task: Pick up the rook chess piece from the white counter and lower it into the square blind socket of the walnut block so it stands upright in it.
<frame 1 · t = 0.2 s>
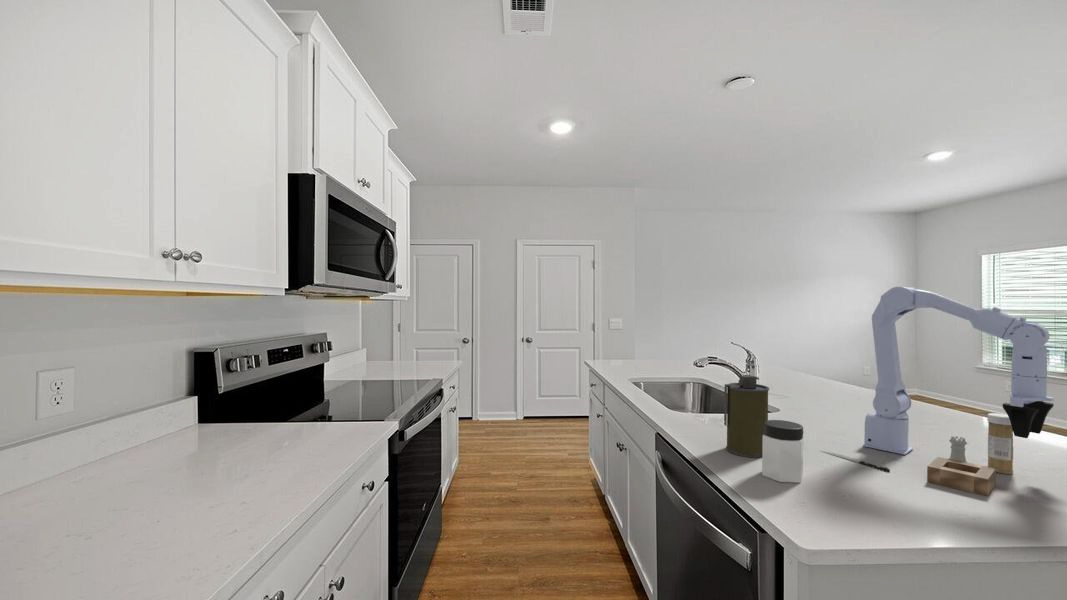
hand: (1027, 434, 111), 10 cm above the countertop, tool pointing down, fingers open, 7 cm apart
chef's knife: (851, 461, 123), on the countertop
sprinkles bottle: (999, 471, 115), on the countertop
rook chess piece: (957, 472, 115), on the countertop
bore block: (961, 482, 108), on the countertop
jar: (782, 477, 111), on the countertop
canister: (746, 452, 129), on the countertop
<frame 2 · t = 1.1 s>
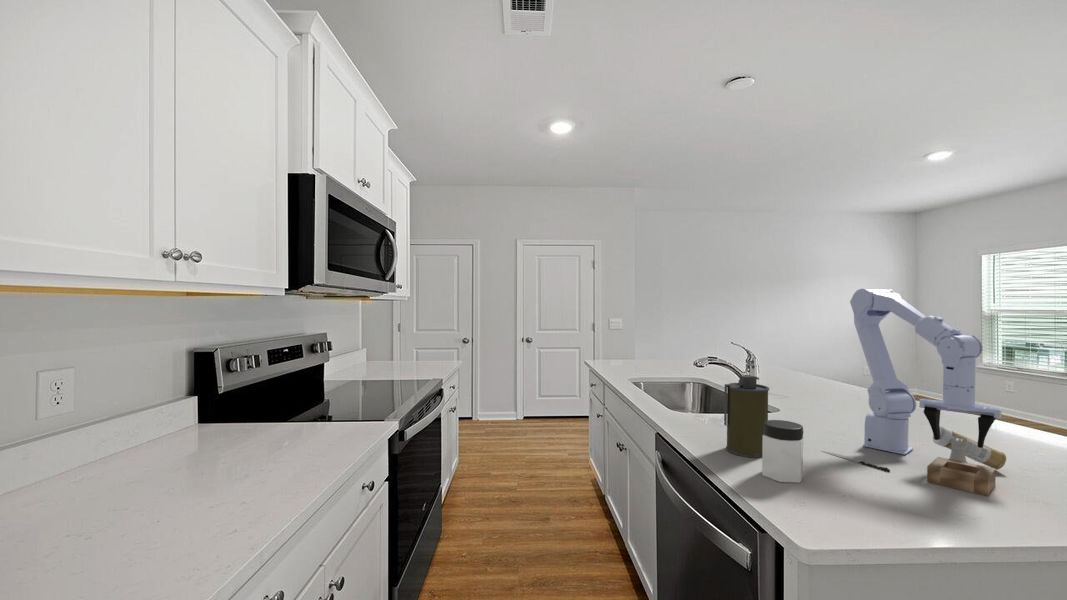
hand: (958, 442, 115), 7 cm above the countertop, tool pointing down, fingers open, 7 cm apart
sprinkles bottle: (1000, 462, 116), point 2 cm above the countertop, touching gripper
everything else where it was.
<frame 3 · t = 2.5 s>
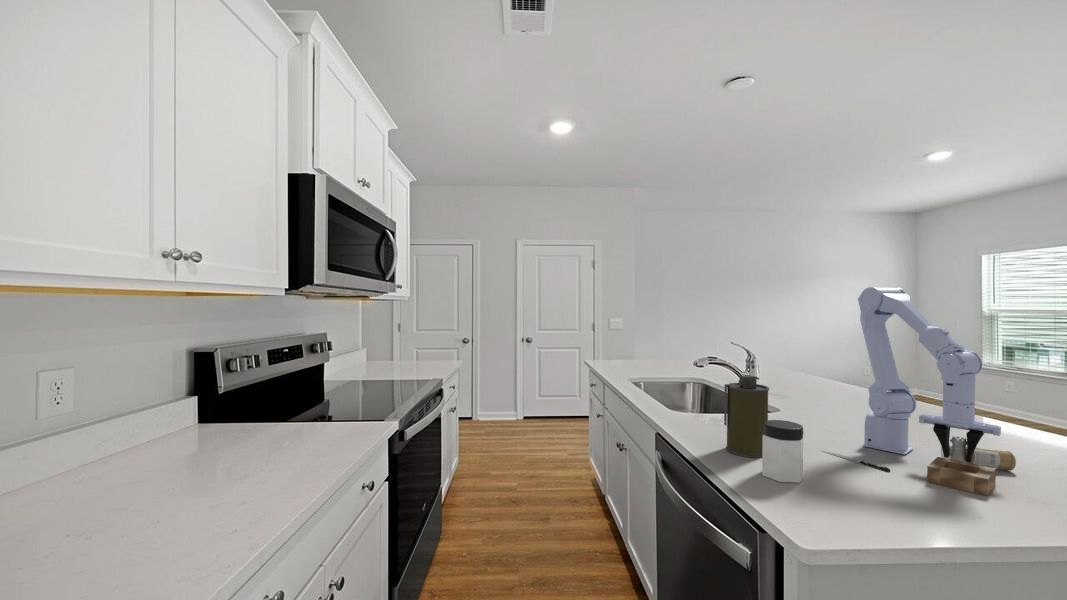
hand: (957, 459, 115), 3 cm above the countertop, tool pointing down, fingers open, 3 cm apart
sprinkles bottle: (1011, 461, 116), point 2 cm above the countertop, touching gripper, rook chess piece
rook chess piece: (958, 472, 115), on the countertop, touching gripper, sprinkles bottle
everything else where it was.
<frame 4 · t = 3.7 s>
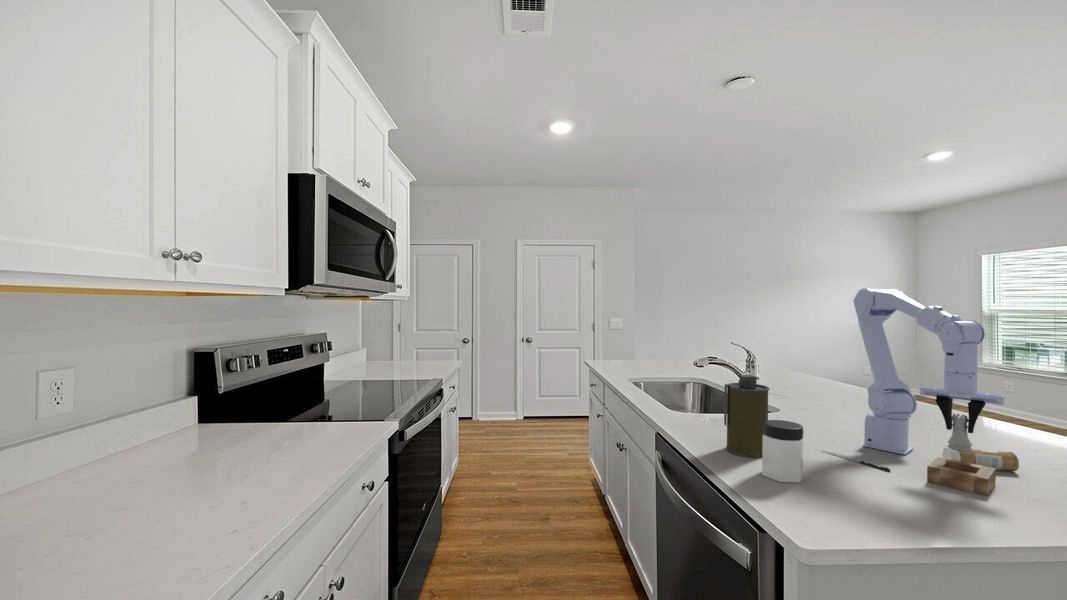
hand: (959, 430, 113), 10 cm above the countertop, tool pointing down, fingers closed on rook chess piece, 3 cm apart
sprinkles bottle: (1014, 462, 115), point 2 cm above the countertop
rook chess piece: (959, 450, 113), point 6 cm above the countertop, touching gripper
everything else where it was.
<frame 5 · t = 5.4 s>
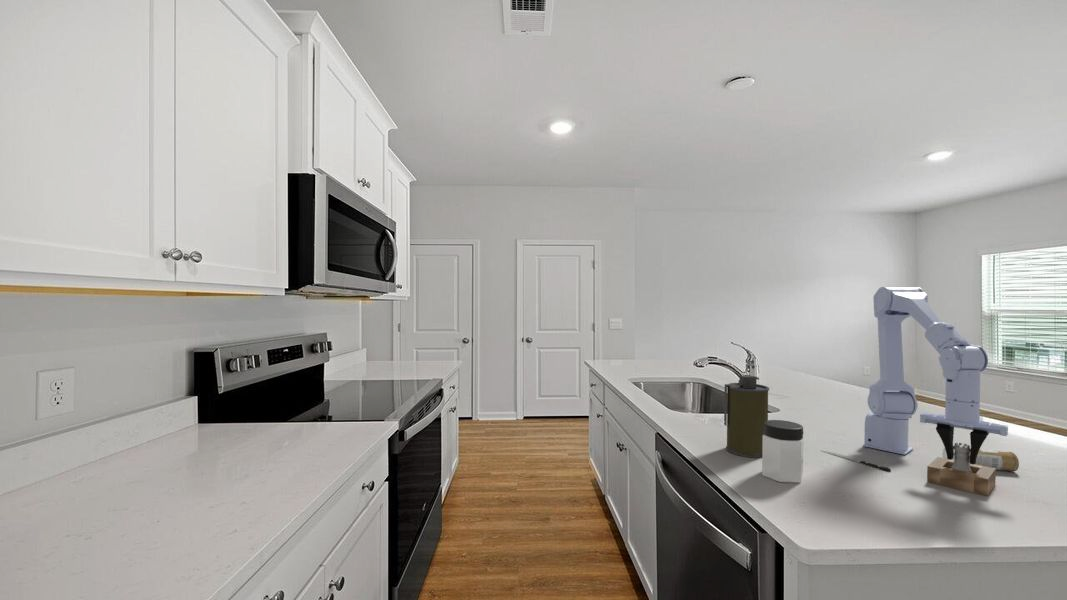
hand: (961, 460, 108), 5 cm above the countertop, tool pointing down, fingers closed on rook chess piece, 3 cm apart
rook chess piece: (961, 480, 108), resting on bore block, touching gripper
everything else where it was.
when the fingers open (5 cm above the countertop, at t = 6.1 s): rook chess piece stays where it is, resting on bore block.
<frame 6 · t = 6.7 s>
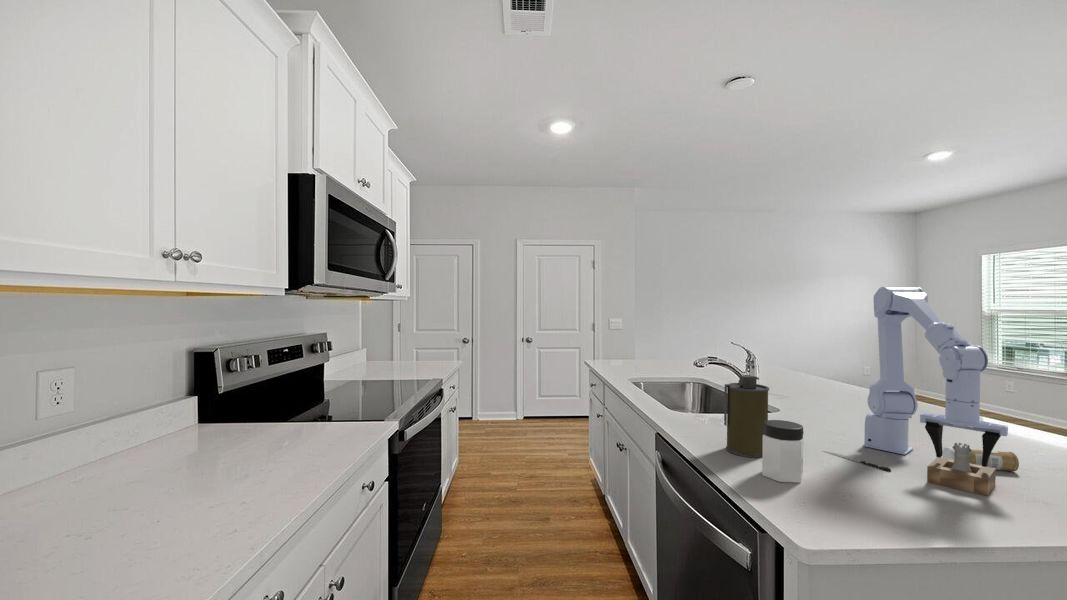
hand: (961, 461, 108), 5 cm above the countertop, tool pointing down, fingers open, 7 cm apart
rook chess piece: (961, 481, 108), resting on bore block
everything else where it was.
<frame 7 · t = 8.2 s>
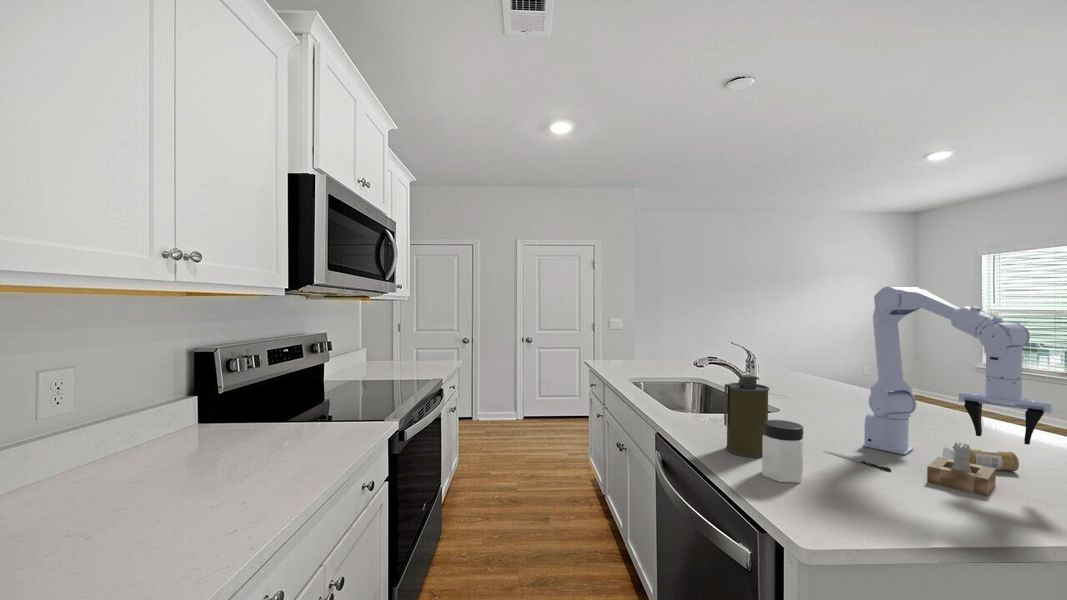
hand: (1002, 439, 106), 10 cm above the countertop, tool pointing down, fingers open, 7 cm apart
nothing on the countertop moved.
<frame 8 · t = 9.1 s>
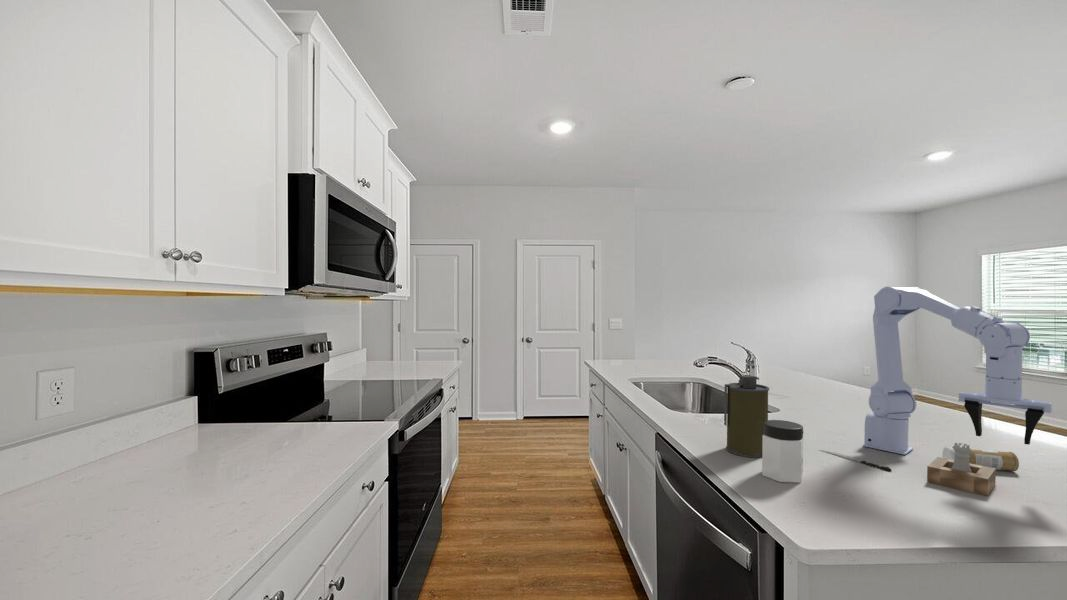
hand: (1002, 439, 106), 10 cm above the countertop, tool pointing down, fingers open, 7 cm apart
nothing on the countertop moved.
at the end: rook chess piece 0.5 cm off-centre in the bore block, point 0.3 cm above the bore block's base; rook chess piece tilted 0°; the gripper is holding nothing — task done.
